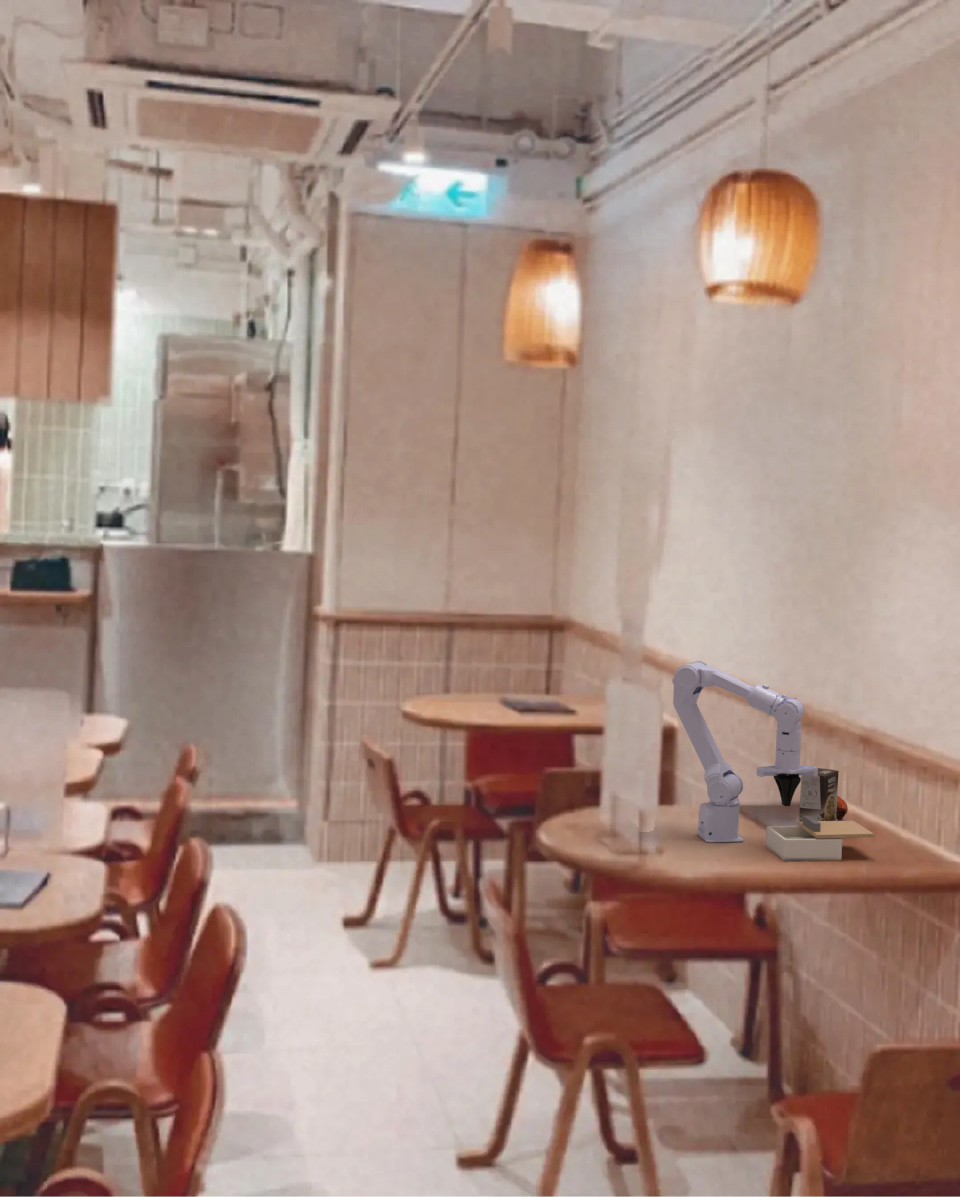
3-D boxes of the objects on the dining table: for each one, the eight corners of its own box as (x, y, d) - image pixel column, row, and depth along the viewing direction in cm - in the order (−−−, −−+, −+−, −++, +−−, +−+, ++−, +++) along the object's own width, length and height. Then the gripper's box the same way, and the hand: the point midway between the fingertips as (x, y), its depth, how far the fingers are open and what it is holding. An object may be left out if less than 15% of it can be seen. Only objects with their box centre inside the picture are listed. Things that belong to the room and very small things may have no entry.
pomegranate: (849, 833, 353) (844, 802, 360) (850, 815, 348) (845, 784, 355) (820, 834, 354) (816, 803, 361) (820, 816, 349) (816, 786, 356)
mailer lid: (816, 838, 318) (817, 826, 318) (797, 824, 330) (798, 813, 330) (874, 837, 320) (874, 825, 320) (852, 823, 332) (853, 812, 332)
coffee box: (821, 840, 336) (825, 776, 335) (797, 835, 340) (800, 772, 339) (836, 833, 344) (839, 770, 342) (812, 828, 347) (815, 766, 346)
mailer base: (783, 860, 318) (784, 839, 317) (765, 846, 330) (766, 826, 329) (841, 859, 320) (842, 838, 319) (821, 845, 332) (822, 825, 331)
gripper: (764, 753, 322) (762, 809, 323) (823, 752, 324) (821, 808, 325) (754, 747, 329) (752, 802, 330) (812, 746, 331) (810, 801, 332)
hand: (786, 805), depth 328 cm, fingers closed
